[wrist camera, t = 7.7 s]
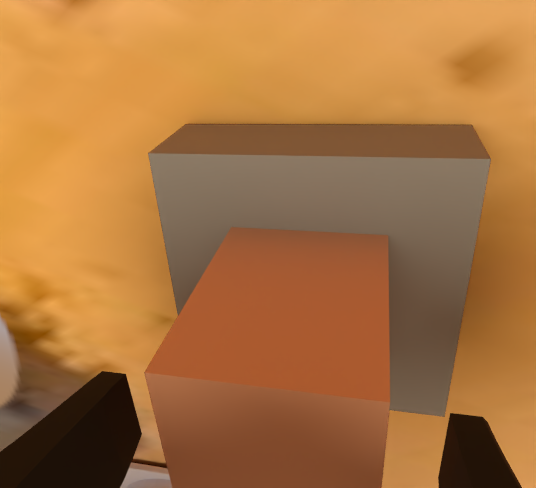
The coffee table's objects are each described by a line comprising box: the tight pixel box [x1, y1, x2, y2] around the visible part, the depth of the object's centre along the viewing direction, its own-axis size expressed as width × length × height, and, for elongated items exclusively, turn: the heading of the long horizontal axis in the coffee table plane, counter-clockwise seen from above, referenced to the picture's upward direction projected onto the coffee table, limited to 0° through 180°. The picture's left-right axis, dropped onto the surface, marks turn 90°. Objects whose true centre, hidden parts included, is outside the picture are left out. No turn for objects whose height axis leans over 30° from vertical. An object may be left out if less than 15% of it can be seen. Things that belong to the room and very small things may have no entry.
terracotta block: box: [144, 227, 390, 488], centre depth 12 cm, size 4×4×6 cm
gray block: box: [148, 124, 491, 417], centre depth 16 cm, size 9×9×3 cm
